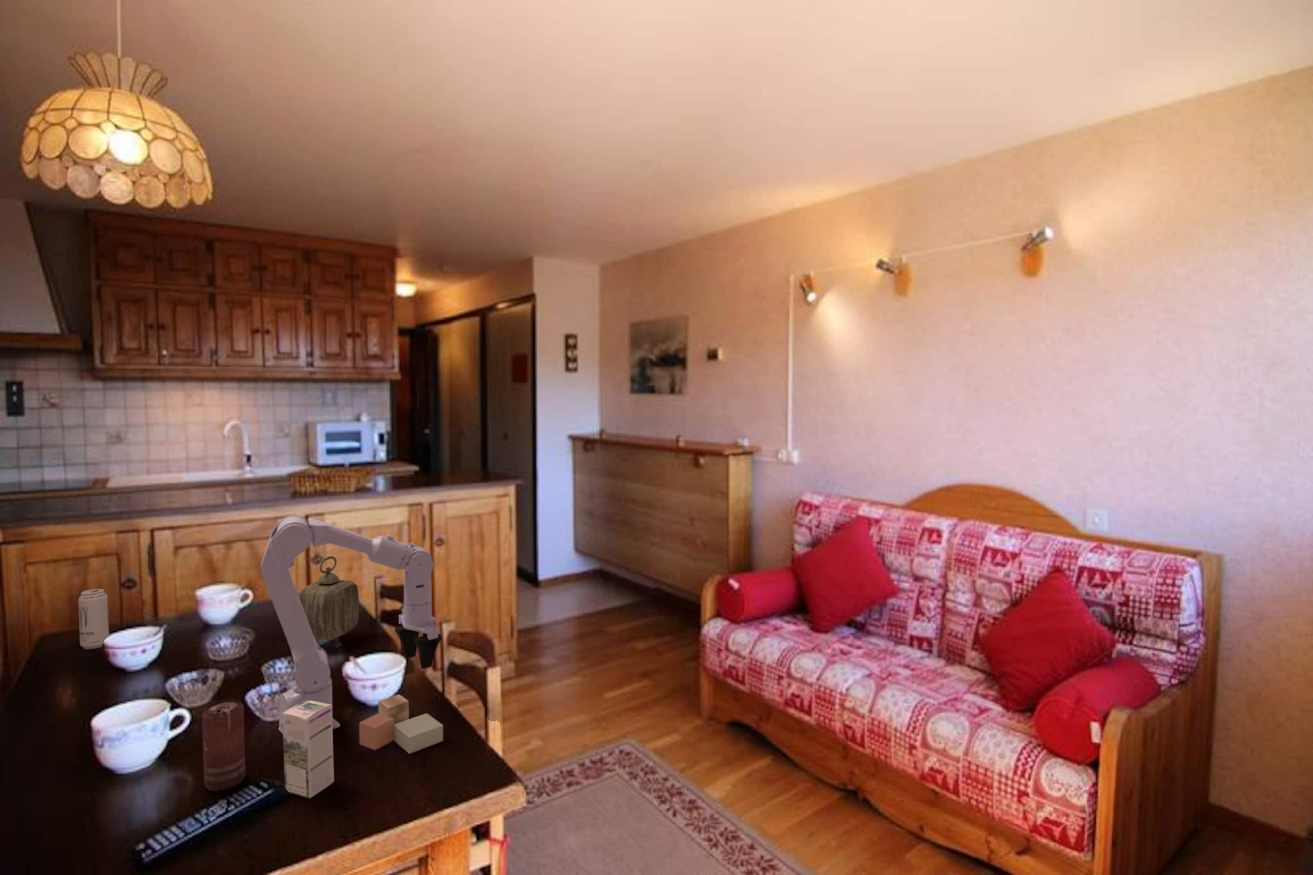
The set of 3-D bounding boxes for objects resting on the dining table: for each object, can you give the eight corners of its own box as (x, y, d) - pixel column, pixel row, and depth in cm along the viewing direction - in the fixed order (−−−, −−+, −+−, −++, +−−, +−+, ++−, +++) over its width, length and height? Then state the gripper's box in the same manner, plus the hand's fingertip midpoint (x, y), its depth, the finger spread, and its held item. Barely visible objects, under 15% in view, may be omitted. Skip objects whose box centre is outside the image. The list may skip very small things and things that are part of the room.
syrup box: (335, 781, 119) (334, 702, 118) (308, 800, 114) (306, 717, 113) (310, 775, 121) (309, 697, 120) (282, 793, 116) (281, 712, 115)
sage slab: (409, 755, 129) (409, 737, 129) (393, 741, 134) (393, 724, 134) (443, 741, 134) (442, 725, 134) (426, 729, 139) (426, 713, 139)
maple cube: (387, 729, 138) (387, 708, 138) (378, 721, 142) (378, 700, 141) (408, 721, 142) (408, 701, 141) (399, 714, 145) (399, 694, 144)
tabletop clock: (332, 637, 190) (330, 550, 188) (361, 639, 189) (360, 551, 187) (298, 656, 176) (296, 562, 174) (329, 658, 174) (328, 564, 173)
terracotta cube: (375, 750, 130) (374, 728, 130) (359, 744, 132) (359, 722, 132) (394, 740, 134) (393, 718, 134) (378, 734, 136) (378, 713, 136)
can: (215, 796, 114) (213, 717, 114) (197, 784, 118) (195, 707, 117) (252, 779, 120) (250, 703, 119) (234, 768, 123) (232, 694, 122)
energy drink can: (74, 648, 179) (72, 593, 178) (99, 640, 185) (96, 587, 184) (90, 651, 177) (88, 595, 176) (114, 643, 183) (112, 589, 182)
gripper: (451, 605, 145) (451, 666, 146) (419, 591, 155) (419, 648, 156) (420, 612, 140) (420, 676, 141) (389, 597, 150) (390, 656, 151)
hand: (418, 662), depth 148 cm, fingers open, 7 cm apart
